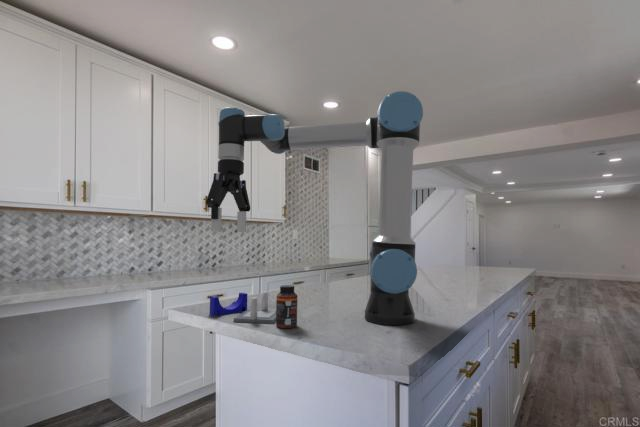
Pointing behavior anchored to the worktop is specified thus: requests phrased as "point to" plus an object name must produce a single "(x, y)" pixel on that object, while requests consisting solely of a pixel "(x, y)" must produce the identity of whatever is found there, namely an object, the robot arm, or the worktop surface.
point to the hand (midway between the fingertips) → (229, 232)
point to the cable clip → (233, 308)
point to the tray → (257, 312)
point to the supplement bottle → (286, 307)
